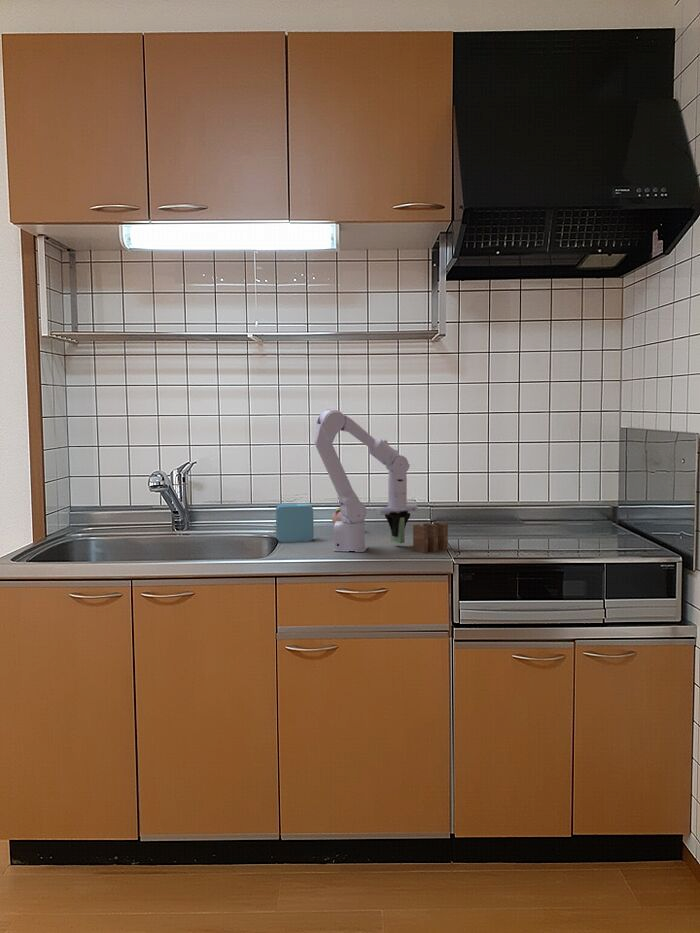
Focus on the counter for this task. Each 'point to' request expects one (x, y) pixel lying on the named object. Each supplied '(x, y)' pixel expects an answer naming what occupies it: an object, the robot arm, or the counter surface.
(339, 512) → the decorative fruit
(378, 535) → the counter surface
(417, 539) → the walnut domino
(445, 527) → the walnut domino
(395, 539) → the green domino
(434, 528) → the walnut domino
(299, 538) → the blue square slab
